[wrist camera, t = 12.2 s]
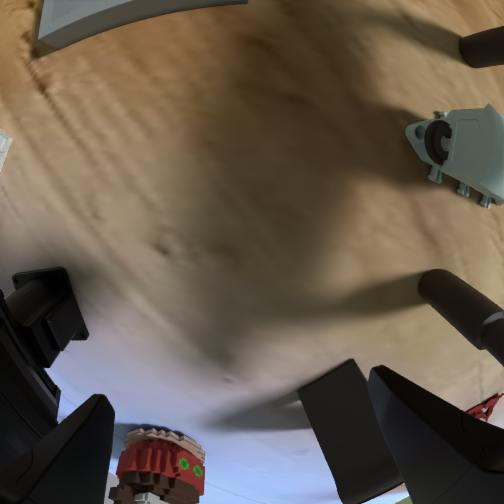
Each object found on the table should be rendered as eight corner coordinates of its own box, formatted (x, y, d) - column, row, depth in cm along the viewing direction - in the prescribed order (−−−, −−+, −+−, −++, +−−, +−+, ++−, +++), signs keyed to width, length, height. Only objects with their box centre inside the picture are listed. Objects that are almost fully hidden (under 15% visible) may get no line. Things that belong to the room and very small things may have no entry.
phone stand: (296, 389, 24) (327, 501, 13) (353, 357, 23) (409, 462, 12) (332, 426, 27) (362, 512, 16) (379, 400, 26) (421, 482, 15)
